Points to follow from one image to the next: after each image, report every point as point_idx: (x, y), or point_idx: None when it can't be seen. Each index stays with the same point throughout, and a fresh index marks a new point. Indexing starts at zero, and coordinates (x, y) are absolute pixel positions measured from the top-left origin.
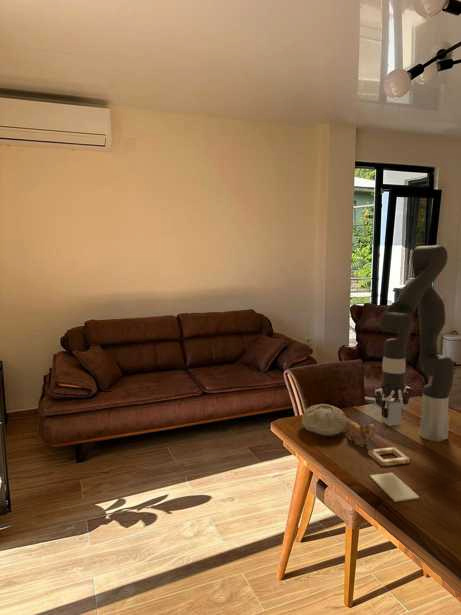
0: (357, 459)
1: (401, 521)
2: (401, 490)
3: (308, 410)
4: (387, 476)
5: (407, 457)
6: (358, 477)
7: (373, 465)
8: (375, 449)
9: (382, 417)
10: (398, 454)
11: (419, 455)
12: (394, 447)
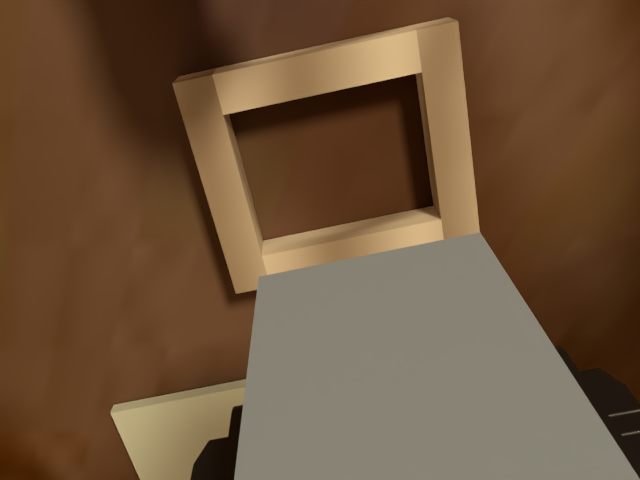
0: (61, 178)
1: None
2: None
3: None
4: (224, 422)
5: (475, 223)
6: (35, 409)
7: (175, 267)
8: (244, 76)
9: (258, 319)
10: (431, 153)
11: (630, 106)
12: (453, 31)
